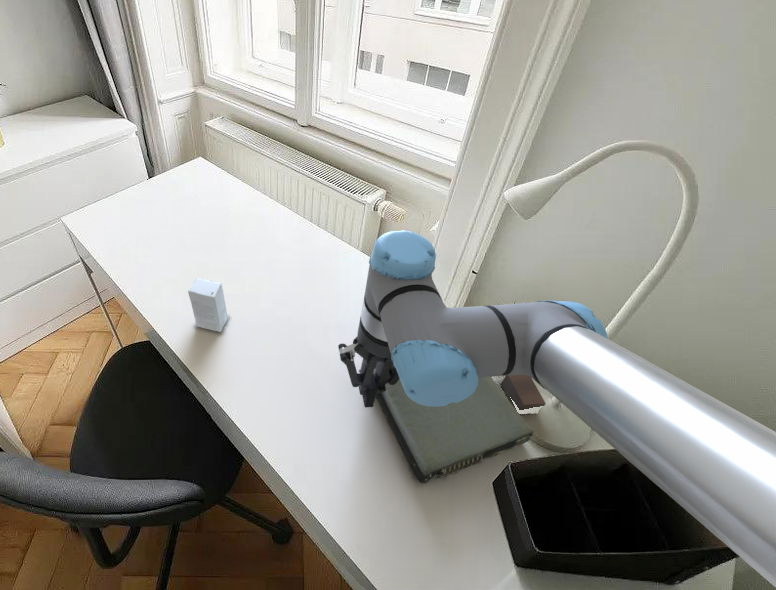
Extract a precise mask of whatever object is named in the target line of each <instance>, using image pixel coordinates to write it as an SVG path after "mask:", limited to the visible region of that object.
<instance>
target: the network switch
mask: <svg viewBox="0 0 776 590" xmlns="http://www.w3.org/2000/svg"><path fill="white" fill-rule="evenodd" d="M375 370H376V369H374V371H373V374H374V375H375ZM385 388H386V391H384V392H381V393H380V394H376V398H375V399H376V400H377V401H378V404H379V406H380V409H381V410H382V412H383V414H384V415H385V418H386V420H387V422H388V424H389V426H390V429H391V431H392V433H393V434H394V436H395V438H396V440H397V442H398V445H399V447H400V448H401V451H402V453H403V454H404V456H405V459H406V460H407V462H408V464H409V466H410V470H411V472H412V473H413V475H414V476H415V478H416V479H417V481H418V482H419V483H420V484H425V483H428V482H430V481H433V480H436V479H437V480H438V479H441V478H443V477H446V476H448V475H452V474H456V473H458V472H460V471H462V470H464V469H466V468H469V467H471V466H474V465H476V464H479V463H481V462H482V460H484V459H488V458H492V457H496V456H498V455H499V454H501V453H505V452H507V451H508V450H511V449H514V448H515V447H518V446H520V445H523V444H525V443H527V442H529V441H530V438H532V437H533V436H534V430H533V429H532V428H531V426H529V424H528V423H527V422H526V421H525V419H524V417H522V415H520V414H519V413H518V412H517V410H516V409H515V408H514V407H513V405H512V404H511V403H510V401H509V400H508V398H507V396H506V394H505V392H504V391H503V389H502V388H501V387H500V386H499V385H498V384H497V382H496V380H494V379H493V377H480V378H478V387H477V389H476V390H475V392H474V393H473V394H472V395H471V396H469V397H468V398H466V399H464V400H462V401H460V402H458V403H449V404H448V405H446V406H440V407H431V406H424V405H420V404H418V403H416V402H414V401H413V400H411V399H410V398H409V397H408V396H407V394H406V393H405V391H404V388H403V386H402V383H401V381H400V379H399V380H398V382H397V383H396V384H395V385H389V383H387V384H385Z"/></svg>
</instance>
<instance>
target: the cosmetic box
mask: <svg viewBox="0 0 776 590" xmlns="http://www.w3.org/2000/svg"><path fill="white" fill-rule="evenodd" d="M187 293H188V297H189V300H190V304H191V309H192V313H193V316H194V320H195V324H196V327H198V328H202V329H207V330H209V331H214V332H219V333H222V331H223V329H224V327H225V325H226V322H227V320H228V318H229V317H228V310H227V306H226V300H225V299H226V298H225V295H224V293H225V292H224V289H223V283H222V282H221V281H214V280H210V279H205V278H201V277H195V280H194V281H193V283H192V284H191V286H190V287H189V289H188V290H187Z"/></svg>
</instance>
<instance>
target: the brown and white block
mask: <svg viewBox="0 0 776 590" xmlns="http://www.w3.org/2000/svg"><path fill="white" fill-rule="evenodd" d="M500 386H501V389H502V391H503V393H504V394H505V396H506V397H507V399H508V400H509V401H510V403H511V404H512V405H513V407H514V408H515V406H514V404H513V402H512V400H513V401H514V402H515V404H516V405H517V407H518V408H519V410H524V409H529V408H533V407H540V406H544V407H545V406H546V404H547V403H546V401H545V400H544V398H543V396H542V394H541V392H540V391H539V389H538V387H537V385H536V384H535V381H534V380H533V379H532V378H531V377H530V376H528V375H508V376H504V378H503V379H502V381H501V383H500ZM510 397H511V398H510ZM511 399H512V400H511ZM515 409H516V408H515Z"/></svg>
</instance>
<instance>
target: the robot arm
mask: <svg viewBox="0 0 776 590" xmlns="http://www.w3.org/2000/svg"><path fill="white" fill-rule="evenodd" d="M434 247H435V246H433V244H432V243H431V242H430V240H428V239H427V238H426V237H424V236H423V235H421V234H419V233H418V232H417V233H416V232H414V231H410V230H404V229H401V230H391V231H387V232H385V233H383V234H381V235H380V236H379V237H377V239H376V240H375V242H374V244H373V249H372V252H371V256H370V257H369V260H368V264H369V265H368V271H367V279H366V283H365V290H364V296H363V300H362V308H361V313H360V317H359V323H358V327H357V328H358V329H357V336H356V337H355V338H354V339H353V340H352V344H349V345H347V344H346V343H339V344H338V346H337V347H338V353H339V358H340V361H341V362H342V363H343V364H344V365H345V366H346V369H347V372H348V376H349V379H350V382H351V386H352V387H353V388H358V391H359V392H358V393H359V395H360V396H361V397H362V401H363V405H364V408H374V404H375V401H376V399H377V398H376V394H380V393H381V392H384V391H386V388H385V384H387V383H389V385H395V384H396V383H397V382H398V380H399V379H400V381H401V383H402V386H403V388H404V391H405V393H406V394H407V396H408V397H409V398H410V399H411V400H413V401H414V402H416V403H418V404H420V405H424V406H431V407H440V406H446V405H448V404H449V403H458V402H460V401H462V400H464V399H466V398H468V397H469V396H471V395H472V394H473V393H474V392H475V390H476V389H477V387H478V378H480V377H492V378H494V377H505V376H508V375H528V376H530V377H531V378H532V380H533V381H534V382H536V383H537V385H539V386H540V387H542V388H543V389H544V390H545V391H546V392H548V393H549V394H551V395H552V396H553V397H554V398H555V399H556V400H557V401H559V402H560V403H561V404H562V405H563V406H564V407H565V408H567V409H568V410H569V411H570V412H572V414H574V415H575V416H576V417H577V418H578V419H579V420H580V421H582V422H583V423H584V424H585V425H587V427H588V428H590V429H591V430H592V431H594V432H595V433H596V434H597V435H598V436H599V437H600V438H602V439H603V440H604V441H605V442H606V443H608V445H610V446H611V447H612V448H613V449H614V450H616V451H617V452H618V453H619V454H620V455H621V456H622V457H624V458H625V459H626V460H627V461H628V462H629V463H631V464H632V465H633V466H634V467H635V468H636V469H637V470H639V471H640V472H641V473H642V474H643V475H645V476H646V477H647V478H648V479H649V481H651V482H652V483H654V484H655V485H656V486H657V487H659V489H660V490H662V491H663V492H664V493H665V494H667V495H668V496H669V497H670V498H671V499H672V500H674V502H676V503H677V504H678V505H679V506H681V507H682V509H684V510H685V511H686V512H687V513H689V514H690V516H692V517H693V518H694V519H695V520H696V521H698V522H699V523H700V524H701V525H702V526H704V527H705V529H707V530H708V531H709V532H710V533H712V534H713V535H714V536H715V537H716V538H718V539H719V541H721V542H722V543H723V544H725V546H727V547H728V548H729V549H730V550H731V551H732V552H734V553H735V554H736V555H737V556H739V558H741V560H743V561H744V562H745V563H747V564H748V565H749V566H750V567H751V568H752V569H753V570H755V571H756V572H757V573H758V574H759V575H760V576H762V577H763V578H764V579H765V580H766V581H767V582H768V583H770V584H771V585H772V586H773V587H774V588H776V431H775V430H773V429H771V428H769V427H768V426H765V425H764V424H762V423H760V422H758V421H757V420H755V419H753V418H751V417H749V416H748V415H746V414H744V413H743V412H740V411H738V410H737V409H735V408H733V407H732V406H730V405H728V404H726V403H724V402H722V401H721V400H719V399H717V398H715V397H713V396H712V395H709V394H708V393H706V392H704V391H703V390H701V389H699V388H697V387H695V386H693V385H691V384H689V383H688V382H686V381H684V380H683V379H681V378H679V377H678V376H676V375H673V374H672V373H670V372H668V371H666V370H665V369H663V368H662V367H660V366H657V365H656V364H654V363H652V362H650V361H648V360H647V359H645V358H644V357H641V356H640V355H637V354H636V353H635V352H632V351H630V350H628V349H627V348H625V347H623V346H621V345H619V344H618V343H616V342H614V341H612V340H610V339H609V336H608V333H607V330H606V327H605V325H604V324H603V322H602V321H601V319H599V318H597V317H596V316H595V314H594V311H593V310H591V308H589V307H588V306H586V305H584V304H582V303H579V302H576V301H569V300H567V301H565V300H563V301H560V300H551V299H549V300H548V299H547V300H538V301H531V302H520V303H519V302H518V303H517V302H516V303H505V304H494V305H477V306H460V307H459V306H458V307H456V306H455V307H447V306H446V303H444V301H443V298H442V296H441V294H440V292H439V290H438V288H437V286H436V284H435V282H434V280H433V273H434V271H435V269H436V258H437V255H436V253H437V252H436V250H435V248H434ZM356 354H357V355H359V356H360V357H361V358H362V362H361V366H360V369H358V370H357V367H356V363H355V357H356ZM374 369H376V370H375V375H374V374H373V371H374Z"/></svg>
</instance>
